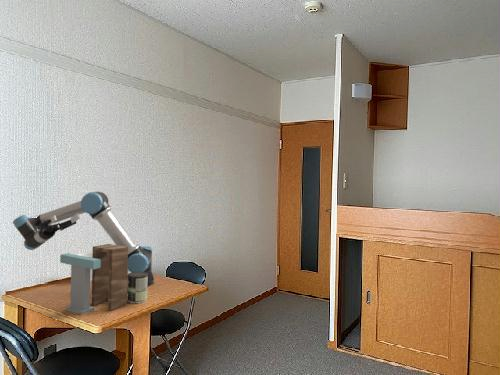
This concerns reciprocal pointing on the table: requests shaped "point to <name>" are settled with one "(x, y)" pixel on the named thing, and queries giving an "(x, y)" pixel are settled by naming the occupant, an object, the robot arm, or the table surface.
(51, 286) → the table surface
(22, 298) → the table surface
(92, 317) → the table surface
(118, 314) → the table surface
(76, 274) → the pedestal
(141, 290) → the coffee can
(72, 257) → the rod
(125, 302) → the walnut wood block
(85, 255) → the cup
